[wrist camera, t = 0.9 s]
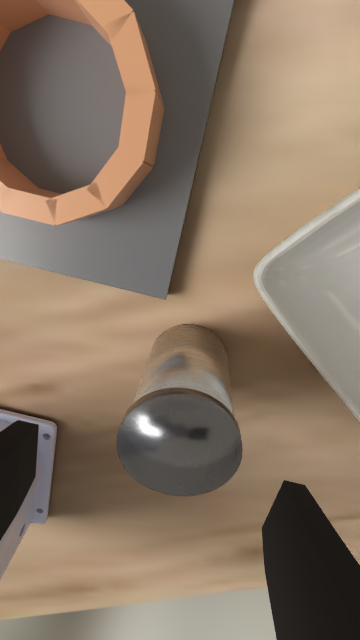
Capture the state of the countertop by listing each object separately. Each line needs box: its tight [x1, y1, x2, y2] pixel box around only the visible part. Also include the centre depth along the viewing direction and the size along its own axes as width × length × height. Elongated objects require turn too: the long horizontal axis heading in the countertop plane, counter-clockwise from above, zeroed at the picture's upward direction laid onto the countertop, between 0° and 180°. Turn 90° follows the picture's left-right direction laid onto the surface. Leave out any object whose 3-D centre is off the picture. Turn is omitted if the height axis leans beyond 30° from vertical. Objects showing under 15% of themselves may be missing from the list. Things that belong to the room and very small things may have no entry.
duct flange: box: [0, 0, 235, 300], centre depth 13 cm, size 14×12×3 cm
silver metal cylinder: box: [117, 324, 242, 496], centre depth 15 cm, size 5×5×7 cm
